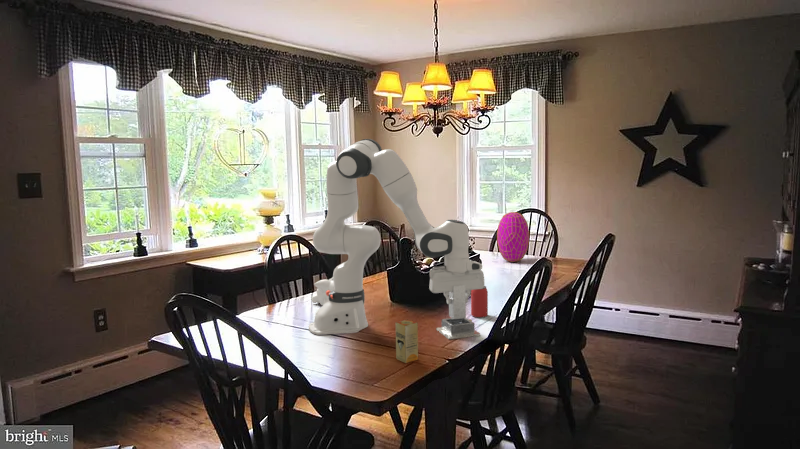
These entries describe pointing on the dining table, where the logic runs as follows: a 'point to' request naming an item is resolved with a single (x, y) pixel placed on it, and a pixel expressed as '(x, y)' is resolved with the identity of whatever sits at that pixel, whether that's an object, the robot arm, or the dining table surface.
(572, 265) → the dining table surface
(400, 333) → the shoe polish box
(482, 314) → the beer can
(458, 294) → the white rectangular block
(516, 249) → the decorative egg
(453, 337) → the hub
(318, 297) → the fox head
